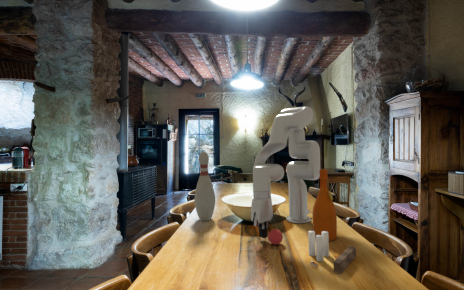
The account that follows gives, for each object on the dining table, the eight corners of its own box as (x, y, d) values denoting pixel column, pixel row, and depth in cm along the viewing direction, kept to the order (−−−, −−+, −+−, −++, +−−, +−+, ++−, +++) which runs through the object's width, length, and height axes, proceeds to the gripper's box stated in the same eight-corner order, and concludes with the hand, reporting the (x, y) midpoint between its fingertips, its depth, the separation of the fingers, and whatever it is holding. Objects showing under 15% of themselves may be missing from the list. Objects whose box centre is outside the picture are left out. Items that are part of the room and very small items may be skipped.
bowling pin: (214, 222, 138) (213, 151, 138) (193, 222, 138) (191, 152, 138) (216, 216, 149) (214, 151, 149) (196, 216, 149) (194, 151, 149)
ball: (273, 240, 111) (273, 226, 111) (285, 243, 107) (285, 229, 107) (265, 244, 106) (265, 230, 106) (277, 248, 102) (277, 233, 102)
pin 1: (317, 257, 93) (317, 234, 93) (324, 259, 91) (323, 235, 91) (315, 260, 91) (314, 236, 91) (321, 262, 90) (321, 237, 90)
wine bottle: (321, 243, 106) (320, 170, 106) (308, 235, 115) (307, 168, 115) (342, 240, 109) (340, 169, 108) (327, 232, 118) (326, 167, 118)
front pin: (310, 252, 98) (310, 230, 97) (316, 254, 96) (316, 231, 96) (307, 254, 96) (307, 231, 96) (313, 256, 94) (313, 233, 94)
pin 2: (323, 253, 97) (323, 230, 97) (329, 254, 95) (329, 232, 95) (320, 255, 95) (320, 232, 95) (327, 257, 93) (326, 233, 93)
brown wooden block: (350, 255, 94) (350, 245, 94) (356, 256, 93) (355, 247, 93) (333, 272, 83) (333, 261, 83) (340, 274, 81) (339, 263, 81)
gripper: (265, 190, 119) (266, 230, 119) (244, 196, 108) (245, 240, 108) (279, 192, 113) (280, 234, 114) (258, 198, 103) (259, 244, 103)
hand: (263, 237), depth 111 cm, fingers closed
